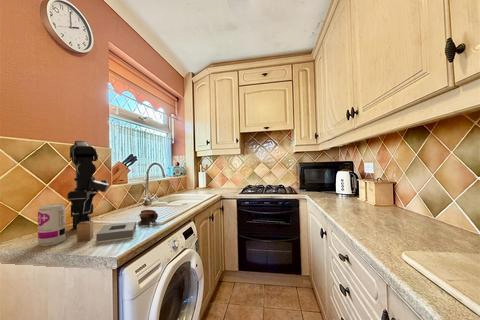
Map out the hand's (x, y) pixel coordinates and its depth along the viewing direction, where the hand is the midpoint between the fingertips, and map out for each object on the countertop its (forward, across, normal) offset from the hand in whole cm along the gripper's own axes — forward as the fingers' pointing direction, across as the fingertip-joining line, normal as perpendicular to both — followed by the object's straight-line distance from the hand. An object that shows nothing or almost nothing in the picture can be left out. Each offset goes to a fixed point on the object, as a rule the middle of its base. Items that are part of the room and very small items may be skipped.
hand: (85, 212), depth 88 cm
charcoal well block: (+11, 0, -12) cm, 16 cm away
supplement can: (+12, +1, +12) cm, 16 cm away
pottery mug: (+12, +14, -24) cm, 30 cm away
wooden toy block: (+11, 0, 0) cm, 11 cm away
